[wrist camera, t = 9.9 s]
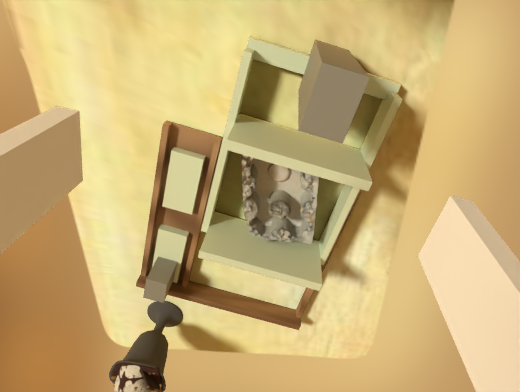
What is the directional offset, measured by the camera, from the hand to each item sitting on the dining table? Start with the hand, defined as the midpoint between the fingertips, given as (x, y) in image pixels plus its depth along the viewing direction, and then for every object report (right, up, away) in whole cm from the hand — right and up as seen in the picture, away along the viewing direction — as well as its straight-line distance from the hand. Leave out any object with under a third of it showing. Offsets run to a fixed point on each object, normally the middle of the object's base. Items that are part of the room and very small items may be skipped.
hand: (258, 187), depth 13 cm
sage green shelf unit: (+3, +4, +24) cm, 25 cm away
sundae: (-13, -17, +38) cm, 44 cm away
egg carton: (+2, +1, +27) cm, 27 cm away
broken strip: (-10, -4, +31) cm, 32 cm away
